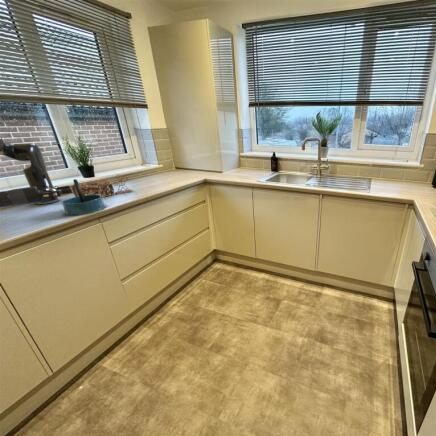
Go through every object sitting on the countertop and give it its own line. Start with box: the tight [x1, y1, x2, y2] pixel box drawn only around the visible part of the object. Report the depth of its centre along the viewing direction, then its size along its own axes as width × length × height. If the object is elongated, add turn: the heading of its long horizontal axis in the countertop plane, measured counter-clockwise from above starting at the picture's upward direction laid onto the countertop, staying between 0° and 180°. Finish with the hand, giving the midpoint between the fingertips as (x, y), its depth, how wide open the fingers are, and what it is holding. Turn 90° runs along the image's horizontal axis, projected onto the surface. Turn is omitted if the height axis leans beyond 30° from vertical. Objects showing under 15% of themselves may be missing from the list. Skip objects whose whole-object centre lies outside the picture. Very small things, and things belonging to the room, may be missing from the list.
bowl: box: [61, 195, 106, 216], centre depth 126 cm, size 16×16×6 cm
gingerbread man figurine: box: [113, 174, 133, 195], centre depth 156 cm, size 9×4×12 cm, turn 134°
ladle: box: [73, 178, 85, 203], centre depth 124 cm, size 6×6×16 cm
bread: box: [71, 179, 115, 198], centre depth 147 cm, size 19×11×10 cm, turn 139°
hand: (70, 189), depth 121 cm, fingers open, 8 cm apart
